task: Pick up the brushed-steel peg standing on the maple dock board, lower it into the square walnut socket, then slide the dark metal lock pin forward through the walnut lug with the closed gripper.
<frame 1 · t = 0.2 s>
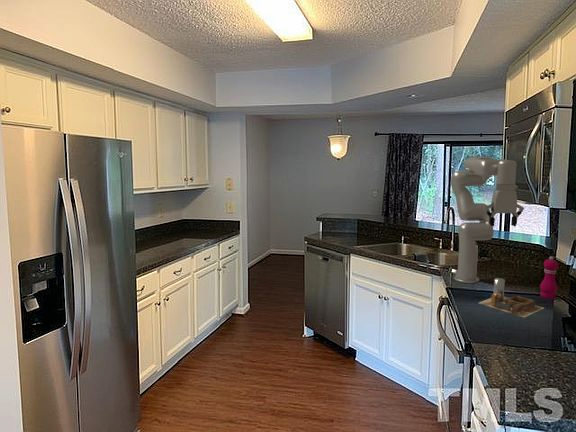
hand: (502, 225, 199), 36 cm above the worktop, tool pointing down, fingers open, 9 cm apart
dock: (510, 307, 197), on the worktop
pepper mill: (547, 297, 211), on the worktop
peg: (498, 300, 204), point 1 cm above the worktop, touching dock
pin: (501, 301, 193), point 4 cm above the worktop, slide at 0.0 cm
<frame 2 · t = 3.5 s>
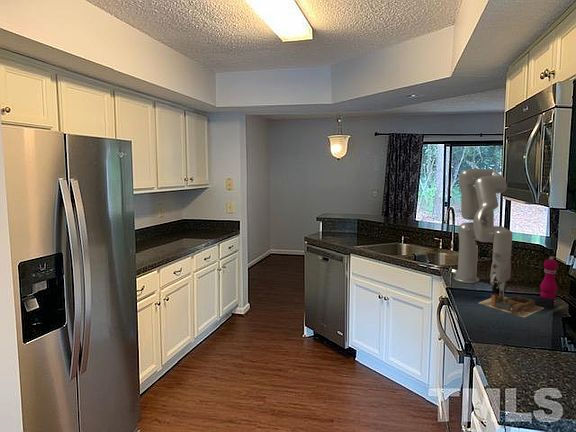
hand: (498, 294, 203), 4 cm above the worktop, tool pointing down, fingers closed on peg, 4 cm apart
peg: (498, 300, 204), point 1 cm above the worktop, touching dock, gripper
everything else where it was.
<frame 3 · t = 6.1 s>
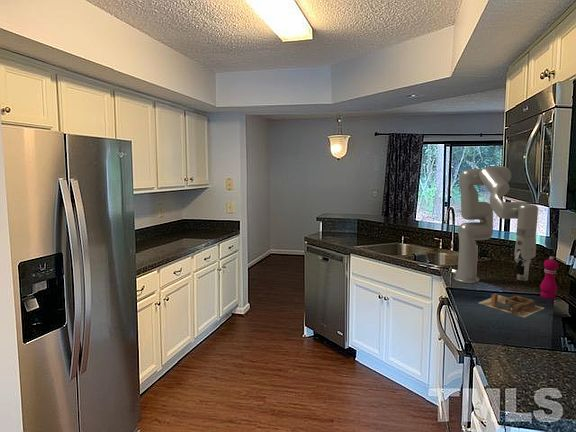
hand: (522, 273, 193), 17 cm above the worktop, tool pointing down, fingers closed on peg, 4 cm apart
peg: (522, 279, 193), point 14 cm above the worktop, touching gripper
everything else where it was.
when the fingers open (5 cm above the worktop, at t = 8.7 s): peg drops 1 cm, resting on dock.
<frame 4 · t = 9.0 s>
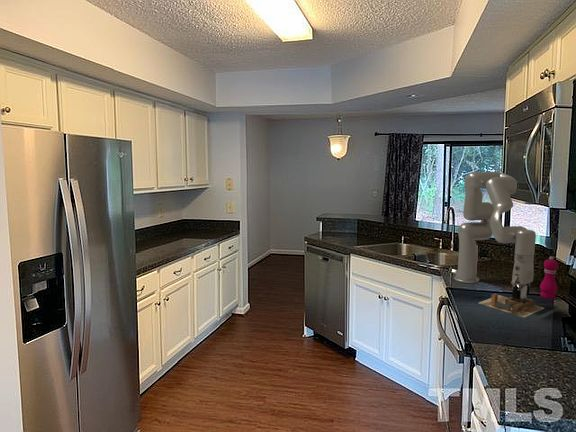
hand: (520, 296, 195), 6 cm above the worktop, tool pointing down, fingers open, 7 cm apart
peg: (519, 306, 196), point 1 cm above the worktop, touching dock
everything else where it was.
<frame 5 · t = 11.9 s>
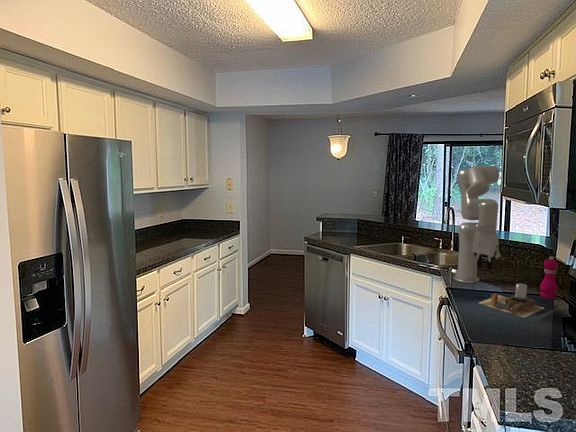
hand: (484, 268, 198), 17 cm above the worktop, tool pointing down, fingers open, 3 cm apart
nothing on the worktop moved.
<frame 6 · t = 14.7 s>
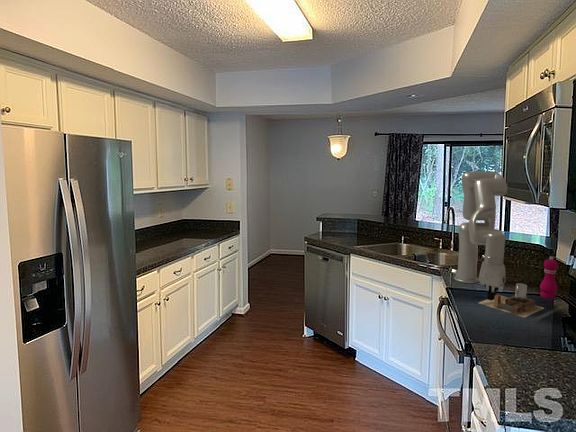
hand: (490, 299, 197), 4 cm above the worktop, tool pointing down, fingers closed
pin: (504, 302, 192), point 4 cm above the worktop, slide at 1.4 cm, touching gripper
everything else where it was.
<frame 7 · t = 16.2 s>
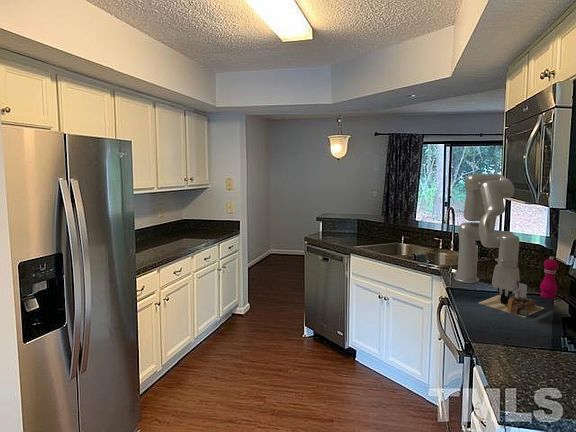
hand: (504, 303, 192), 4 cm above the worktop, tool pointing down, fingers closed
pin: (518, 307, 187), point 4 cm above the worktop, slide at 7.6 cm, touching gripper
everything else where it was.
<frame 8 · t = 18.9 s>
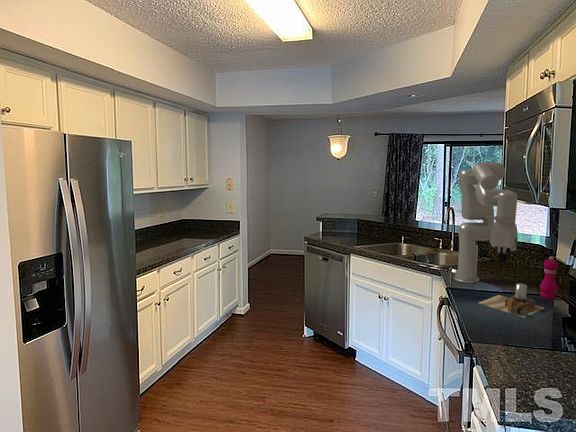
hand: (502, 261, 191), 22 cm above the worktop, tool pointing down, fingers closed
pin: (518, 306, 187), point 4 cm above the worktop, slide at 7.5 cm
everything else where it was.
at the end: peg 0.1 cm from the target spot on the dock, point 1.2 cm above the dock's base; peg tilted 0°; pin slide at 7.5 cm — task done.
